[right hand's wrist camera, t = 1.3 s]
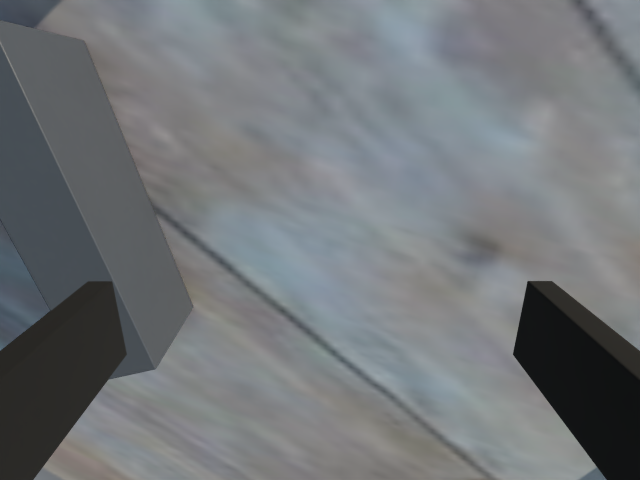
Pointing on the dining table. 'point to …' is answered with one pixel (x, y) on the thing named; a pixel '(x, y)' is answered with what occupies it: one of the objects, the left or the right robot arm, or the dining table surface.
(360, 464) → the dining table surface
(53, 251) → the bar
